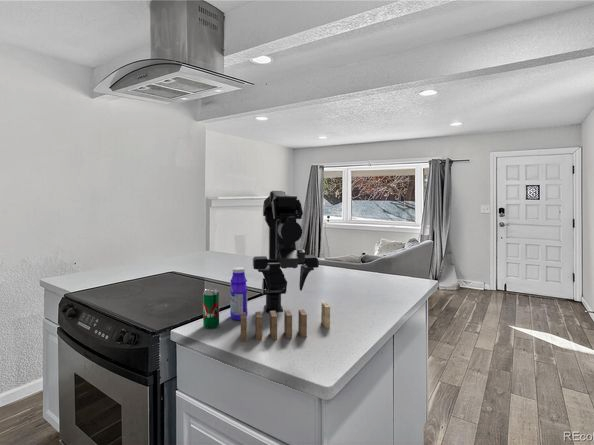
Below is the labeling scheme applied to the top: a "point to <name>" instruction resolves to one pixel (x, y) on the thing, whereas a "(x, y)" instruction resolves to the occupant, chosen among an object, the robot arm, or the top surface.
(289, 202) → the robot arm
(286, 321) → the domino
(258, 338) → the domino
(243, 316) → the domino
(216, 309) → the soda can
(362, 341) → the top surface
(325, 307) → the oak domino
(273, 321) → the domino
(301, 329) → the domino
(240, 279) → the bottle
